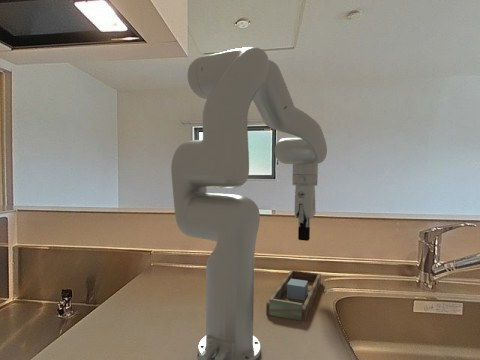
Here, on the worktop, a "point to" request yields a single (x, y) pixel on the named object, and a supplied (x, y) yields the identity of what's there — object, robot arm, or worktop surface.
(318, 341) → the worktop surface
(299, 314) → the open box
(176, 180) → the robot arm
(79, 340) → the worktop surface
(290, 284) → the block
